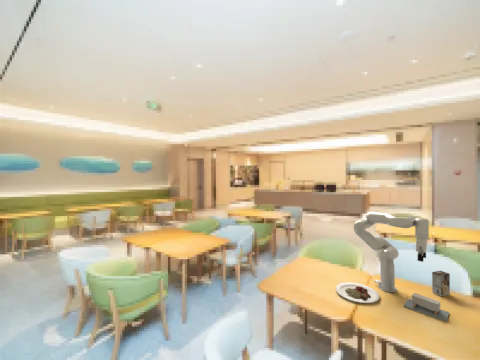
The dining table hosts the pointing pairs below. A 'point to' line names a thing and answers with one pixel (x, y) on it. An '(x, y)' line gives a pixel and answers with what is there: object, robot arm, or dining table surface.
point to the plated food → (357, 292)
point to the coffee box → (441, 283)
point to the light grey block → (426, 302)
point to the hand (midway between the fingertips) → (421, 259)
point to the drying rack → (427, 310)
